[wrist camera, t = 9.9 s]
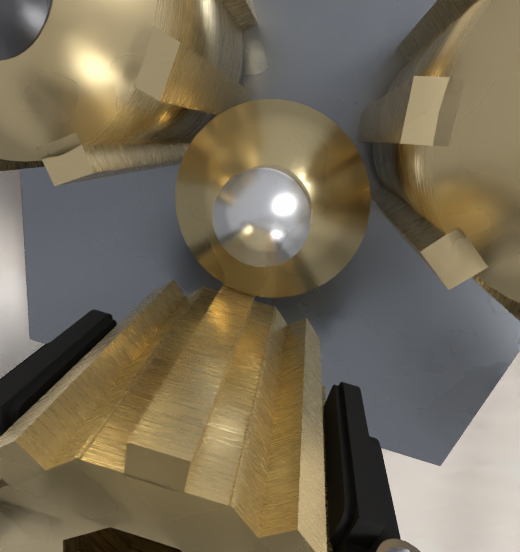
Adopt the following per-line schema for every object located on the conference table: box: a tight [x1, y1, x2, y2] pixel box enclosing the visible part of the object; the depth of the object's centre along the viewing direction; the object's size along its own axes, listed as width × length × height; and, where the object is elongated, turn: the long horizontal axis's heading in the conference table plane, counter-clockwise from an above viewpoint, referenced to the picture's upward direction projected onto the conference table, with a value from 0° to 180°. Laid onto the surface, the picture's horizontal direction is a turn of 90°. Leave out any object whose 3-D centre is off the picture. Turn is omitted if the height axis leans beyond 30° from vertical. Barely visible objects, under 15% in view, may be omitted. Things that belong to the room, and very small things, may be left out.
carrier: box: [20, 0, 520, 466], centre depth 10 cm, size 20×20×6 cm
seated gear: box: [0, 0, 258, 186], centre depth 8 cm, size 7×7×6 cm
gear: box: [0, 279, 333, 552], centre depth 9 cm, size 7×7×6 cm
